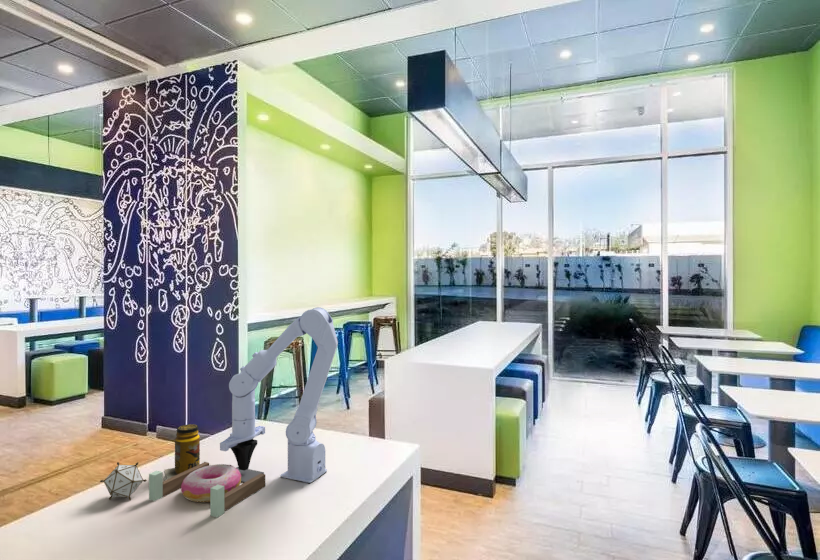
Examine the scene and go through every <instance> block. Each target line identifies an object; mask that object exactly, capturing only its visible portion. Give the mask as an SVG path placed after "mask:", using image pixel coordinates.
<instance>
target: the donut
mask: <svg viewBox="0 0 820 560" xmlns="http://www.w3.org/2000/svg"><path fill="white" fill-rule="evenodd" d="M217 484H218V485H222V486H224V494H225V493H227V492H229V491H231V490H232V489H234V488H236V487H238V486H239V485H241V484H242V482H241V474H240V472H239V470H238V469H237V468H236V466H234V465H231V464H223V463H221V464H220V463H219V464H212V465H210V464H209V466H206V467H202V468H199V469H197V470H195V471H193V472H191V473H190V474H189V475H188V476H187V477H186V478H185V479H184V480H183V482H182V485H181V488H180V491H181V494H182V495H183V497H184V498H186V499H187V500H188V501H191V502H195V503H210V488H212V487H214V486H216V485H217Z"/></svg>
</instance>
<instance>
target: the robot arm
mask: <svg viewBox="0 0 820 560" xmlns="http://www.w3.org/2000/svg"><path fill="white" fill-rule="evenodd" d="M305 335H308V336H309V337H311V338H312V340H313V341H314V344H315V345H316V347H317V350H316V353H315V356H314V359H313V362H312V365H311V367H310V370H309V374H308V377H307V380H306V384H305V386H304V389H303V393H302V396H301V398H300V402H299V404H298V407H297V409H296V410H295V414H294V416H293V419H292V420H291V422H289V423H288V424H287V425H286V428H285V437H286V439H287V470H286V471H285V472H283V473H281V474H279V475H280V477H281V478H284V479H289V480H294V481H299V482H303V483H310V484H311V483H313V481H315V480H317V479H318V478H320V477H321V476H323V475H325V474H326V473H327V472H328V469H326V446H325V444H324V443H321V442H319V441H317V439H316V438H317V437H316V435H315V433H314V432H313V431H314V430H315V428H316V427H317V422H318V421H317V413H318V408H319V407H318V406H319V404H320V400H321V396H322V394H323V391H324V389H325V385H326V382H327V379H328V376H329V373H330V369H331V366H332V364H333V360H334V357H335V354H336V352H337V348H338V345H339V344H338V343H339V341H338V337H337V333H336V330H335V325H334V320H333V317H332V316H331V315H330V314H329V312H328V311H327V310H326V309H325V308H323V307H319V306H317V307H314V308H311V309H307V310H305V311H303V313H302V314H301V315H300V316H299V317H297V318H296V319H294V321H293V322H291V323H290V324H289V325H288V326H287V328H285V330H283V332H282V333H281V334H280V335H279V336H278V338H276V340H275V341H274V342H272V344H271V345H270V347H269V348H267V349H260V350H259V351H258V352H257V351H255V352H254V353H252V355H251V357H252V358H251V360H249V362H248V363H246V365H243V366H241V367H240V368H239V371H240V372H239V373H236V374H234V375H233V376H232V378H231V379H230V381H229V383H228V388H229V392H230V393H231V394H232V395H231V396H232V397H231V398H232V401H231V422H232V423H231V430H232V431H231V432H230V433H229V436H228V437H227V438H226V439H224V440H223V441H221V442H220V443H219V450H220V451H221V452H227V451H229V449H230V450H231V451H232V453H233V455H234V457H235V461H236V462H237V467H239V470H244V471H245V470H247V469H249V467H250V464H251V459H252V456H253V453H254V451H255V449H256V447H257V445H258V440H257V439H254V438H257V437H258V436H261V435H265V434H266V426H263V425H258V426H256V393H255V392H256V388H258V385H259V383H260V382H261V381H263V379H264V378H266V376H267V375H268V374H269V373H271V371H272V370H273V369H274V368H275V367H276V366H277V357H279V355H281V354H282V353H283V352H284V351H285V350H286V349H287V348H288V347H289V346H290V345H291V344H292V343H293V342H294V341H296V339H297V338H298V337H303V336H305Z"/></svg>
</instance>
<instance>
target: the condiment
mask: <svg viewBox="0 0 820 560" xmlns="http://www.w3.org/2000/svg"><path fill="white" fill-rule="evenodd" d="M175 436H176V437H175V439H174V467H172V468H171V467H170V468H165V469H164V473H165V474H164V475H165V477H166V480H167V479H169V478H171V477H173V476H176V475H178V474H180V473H182V472H184V471H186V470H189V469H191V468H193V467H195V466H197V465H199V464H201V463H200V461H201V460H200V459H201V457H200V456H201V452H200V451H201V450H200V447H201V446H200V444H201V443H200V442H201V441H200V440H201V436H200V435H199V426H198V425H197V424H194V423H193V424H191V423H190V424H189V423H188V424H184V425H180V426H179V427H177V428H176V434H175Z"/></svg>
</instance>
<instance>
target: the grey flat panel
mask: <svg viewBox="0 0 820 560" xmlns="http://www.w3.org/2000/svg"><path fill="white" fill-rule="evenodd" d="M235 468H237V469H238V470H239V467H238V466H237V467H236V466H235ZM239 472H240V474H241V484H243V483H245V482H246V481H248V480H250V479H252V478H253V477H255V476H257V475H259V474H260V473H261V474H265V472H264V471H260V470H255V469H249V468H248V469H247V470H245V471H244V470H239Z"/></svg>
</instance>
